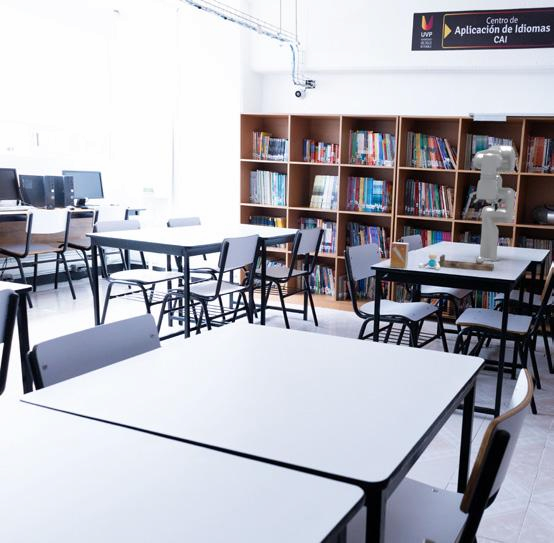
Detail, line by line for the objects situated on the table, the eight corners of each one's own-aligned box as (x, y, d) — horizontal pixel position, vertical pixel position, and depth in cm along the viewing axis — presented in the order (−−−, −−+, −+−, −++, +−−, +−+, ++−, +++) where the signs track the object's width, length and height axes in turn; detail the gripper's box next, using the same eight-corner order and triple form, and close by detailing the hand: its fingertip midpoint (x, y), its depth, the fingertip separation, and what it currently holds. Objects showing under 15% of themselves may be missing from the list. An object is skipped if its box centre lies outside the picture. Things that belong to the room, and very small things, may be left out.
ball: (475, 263, 355) (476, 255, 355) (484, 263, 354) (484, 255, 353) (474, 264, 351) (475, 256, 351) (483, 265, 350) (484, 256, 349)
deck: (493, 268, 355) (494, 258, 354) (492, 271, 346) (492, 260, 345) (440, 264, 365) (441, 254, 364) (437, 266, 356) (438, 256, 355)
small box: (389, 267, 348) (391, 242, 346) (392, 266, 353) (393, 241, 351) (405, 268, 345) (406, 244, 343) (407, 267, 351) (409, 242, 348)
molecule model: (433, 267, 357) (434, 250, 356) (449, 270, 347) (451, 253, 346) (417, 268, 351) (418, 251, 350) (433, 271, 341) (434, 254, 340)
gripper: (505, 178, 343) (503, 211, 345) (471, 177, 349) (468, 209, 351) (505, 178, 336) (502, 212, 338) (470, 177, 342) (467, 210, 344)
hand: (485, 210), depth 345 cm, fingers open, 9 cm apart
